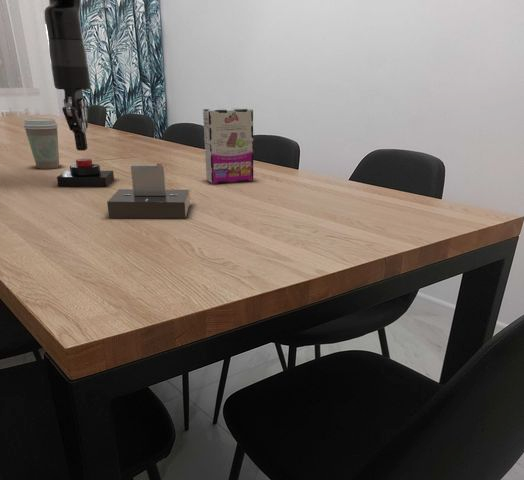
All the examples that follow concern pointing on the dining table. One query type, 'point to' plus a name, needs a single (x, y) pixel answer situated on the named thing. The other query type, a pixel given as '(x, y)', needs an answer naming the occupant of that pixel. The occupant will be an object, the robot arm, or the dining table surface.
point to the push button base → (85, 177)
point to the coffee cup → (43, 142)
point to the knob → (148, 179)
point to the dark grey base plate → (149, 205)
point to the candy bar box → (228, 144)
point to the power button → (84, 162)
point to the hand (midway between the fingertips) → (82, 149)
